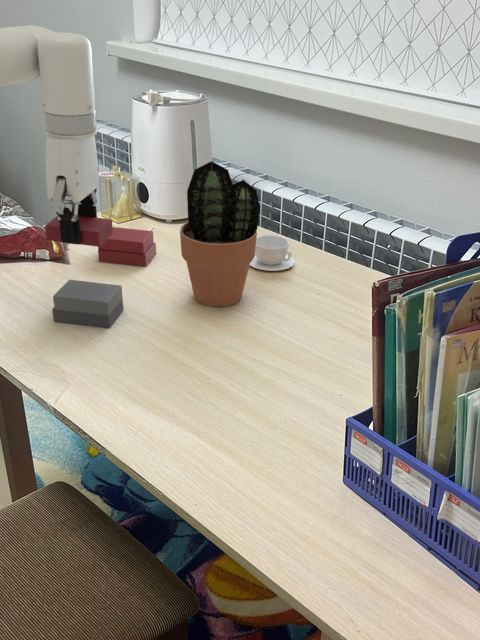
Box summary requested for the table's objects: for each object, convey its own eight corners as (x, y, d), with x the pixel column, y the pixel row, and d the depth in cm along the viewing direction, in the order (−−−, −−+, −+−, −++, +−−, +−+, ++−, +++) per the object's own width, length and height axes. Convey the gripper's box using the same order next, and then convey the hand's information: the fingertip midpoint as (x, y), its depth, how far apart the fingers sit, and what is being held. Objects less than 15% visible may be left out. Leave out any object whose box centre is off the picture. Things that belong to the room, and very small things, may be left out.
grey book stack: (53, 322, 118) (49, 295, 115) (70, 303, 124) (67, 278, 122) (109, 328, 117) (107, 302, 114) (124, 310, 123) (122, 284, 120)
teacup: (236, 263, 143) (236, 242, 140) (265, 249, 150) (266, 229, 147) (275, 277, 138) (276, 255, 135) (303, 262, 144) (305, 241, 142)
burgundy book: (46, 240, 112) (44, 225, 110) (61, 227, 117) (60, 213, 115) (99, 246, 111) (98, 232, 109) (112, 233, 116) (112, 219, 114)
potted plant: (216, 320, 121) (217, 179, 108) (166, 295, 129) (161, 160, 116) (269, 297, 130) (276, 164, 117) (219, 274, 137) (220, 148, 125)
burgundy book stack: (98, 261, 141) (96, 238, 138) (110, 248, 146) (108, 226, 144) (146, 266, 139) (144, 243, 137) (156, 253, 145) (155, 231, 143)
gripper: (70, 109, 112) (79, 215, 121) (20, 134, 97) (34, 252, 107) (114, 113, 111) (120, 220, 120) (71, 139, 96) (81, 258, 106)
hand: (80, 234), depth 113 cm, fingers closed on burgundy book, 6 cm apart
